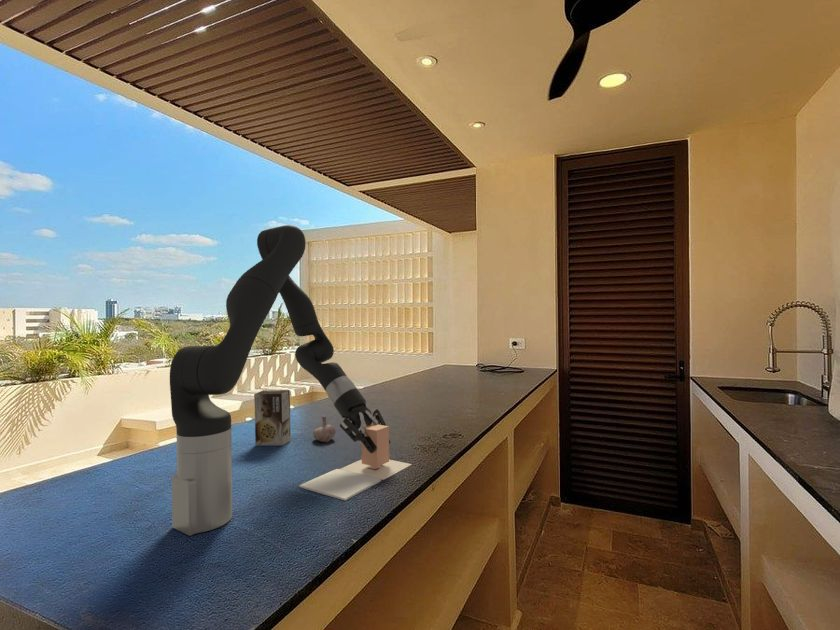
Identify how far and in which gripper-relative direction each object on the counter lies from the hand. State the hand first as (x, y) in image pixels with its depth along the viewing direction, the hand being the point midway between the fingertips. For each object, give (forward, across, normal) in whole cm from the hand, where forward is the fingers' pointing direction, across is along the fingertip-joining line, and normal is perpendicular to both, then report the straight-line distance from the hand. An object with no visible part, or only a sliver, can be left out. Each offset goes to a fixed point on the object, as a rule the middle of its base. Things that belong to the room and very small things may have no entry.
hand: (381, 447), depth 104 cm
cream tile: (+2, 0, +5) cm, 6 cm away
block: (+1, 0, +4) cm, 4 cm away
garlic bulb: (-19, +11, +26) cm, 34 cm away
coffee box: (-27, +1, +35) cm, 44 cm away
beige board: (+2, -13, +5) cm, 14 cm away
